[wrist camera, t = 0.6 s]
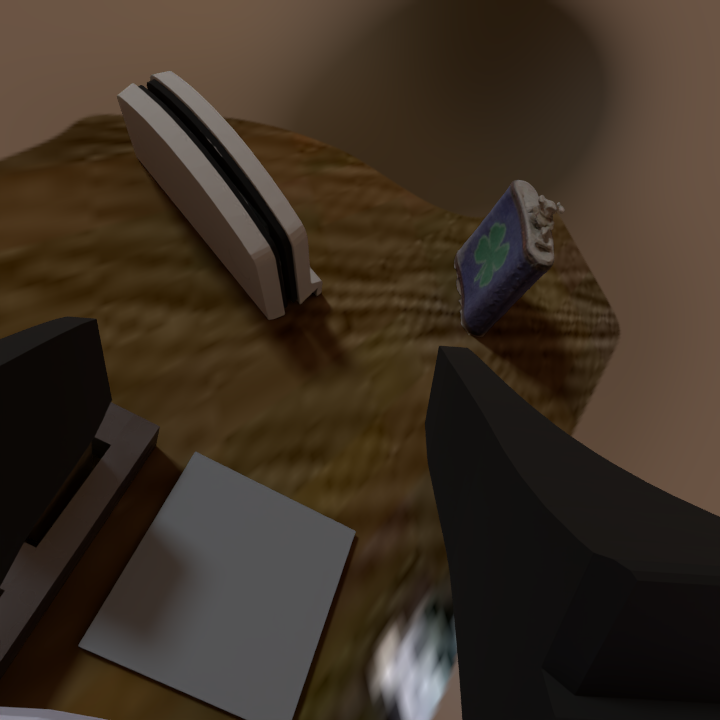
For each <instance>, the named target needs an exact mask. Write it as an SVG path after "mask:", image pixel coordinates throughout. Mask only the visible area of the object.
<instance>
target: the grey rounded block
mask: <svg viewBox="0 0 720 720" xmlns="http://www.w3.org/2000/svg"><path fill="white" fill-rule="evenodd" d="M147 88H148V89H146V88H145V87H144V86H142V85H140V86H136V85H135V84H131V85H130V86H128V87H127V88H126V89H125V90H124V91H122V92H121V93H120V94H119V95H117V99H118V102H119V105H120V108H121V111H122V114H123V117H124V120H125V123H126V126H127V129H128V132H129V135H130V138H131V141H132V144H133V147H134V150H135V154H136V157H137V158H138V159H139V160H140V162H141V163H142V164H143V165H144V167H145V168H146V169H147V170H148V172H149V173H150V174H151V175H152V177H153V178H154V179H155V180H156V181H157V183H158V184H159V185H160V186H161V188H162V189H163V190H164V191H165V193H166V194H167V195H168V196H169V198H170V199H171V200H172V201H173V202H174V204H175V205H176V206H177V207H178V209H179V210H180V211H181V212H182V214H183V215H184V216H185V217H186V219H187V220H188V221H189V222H190V223H191V225H192V226H193V227H194V228H195V230H196V231H197V232H198V233H199V235H200V236H201V237H202V238H203V240H204V241H205V242H206V243H207V244H208V246H209V247H210V248H211V249H212V251H213V252H214V253H215V254H216V256H217V257H218V258H219V259H220V260H221V262H222V263H223V264H224V265H225V267H226V268H227V269H228V270H229V272H230V273H231V274H232V275H233V277H234V278H235V279H236V280H237V281H238V283H239V284H240V285H241V286H242V288H243V289H244V290H245V291H246V293H247V294H248V295H249V296H250V298H251V299H252V300H253V301H254V302H255V304H256V305H257V306H258V307H259V309H260V310H261V311H262V312H263V314H264V315H265V316H266V317H267V319H268V320H271V319H275V318H278V317H280V316H283V315H285V311H284V308H286V307H287V301H286V295H287V296H288V297H289V299H290V300H291V301H292V302H295V301H296V300H297V301H298V302H299V303H300V304H301V303H302V302H303V301H304V300H305V299H306V298H307V297H308V296H309V295H311V294H312V293H313V292H314V294H315V295H316V296H318V295H319V294H320V293H321V289H322V281H321V280H320V279H319V277H318V276H317V275H316V274H315V273H314V271H313V270H312V269H311V268H310V263H309V250H308V237H307V234H306V230H305V228H304V226H303V224H302V222H301V221H300V219H299V218H298V216H297V215H296V213H295V212H294V210H293V209H292V207H291V205H290V204H289V202H288V201H287V199H286V198H285V196H284V195H283V194H282V192H281V191H280V189H279V188H278V186H277V185H276V184H275V182H274V181H273V179H272V178H271V177H270V175H269V174H268V173H267V171H266V170H265V169H264V167H263V166H262V165H261V163H260V162H259V161H258V159H257V158H256V157H255V155H254V154H253V153H252V152H251V150H250V149H249V148H248V146H247V145H246V144H245V143H244V141H243V140H242V139H241V138H240V137H239V135H238V134H237V133H236V132H235V131H234V130H233V128H232V127H231V126H230V125H229V124H228V123H227V122H226V121H225V120H224V118H223V117H222V116H221V115H220V114H219V113H218V112H217V111H216V110H215V109H214V108H213V107H212V106H211V105H210V104H209V103H208V102H207V101H206V100H205V99H204V98H203V97H202V96H201V95H200V94H199V93H198V92H197V91H196V90H195V89H194V88H192V87H191V86H190V85H189V84H188V83H186V82H185V81H184V80H183V79H181V78H180V77H179V76H177V75H176V74H174V73H173V72H171V71H168V72H163V73H158V74H153V75H151V77H150V81H149V82H147ZM285 294H286V295H285Z"/></svg>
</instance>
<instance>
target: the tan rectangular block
mask: <svg viewBox="0 0 720 720" xmlns="http://www.w3.org/2000/svg"><path fill="white" fill-rule="evenodd" d="M92 469H93V463H92V444H91V443H90V445H89V446H88V448H87V449H86V451H85V452H84V454H83V455H82V457H81V458H80V460H79V461H78V463H77V464H76V466H75V467H74V469H73V470H72V472H71V473H70V475H69V476H68V478H67V479H66V480H65V482H64V483H63V485H62V486H61V488H60V489H59V491H58V492H57V494H56V495H55V496H54V498H53V499H52V501H51V502H50V504H49V505H48V507H47V508H46V510H45V511H44V512H43V514H42V515H41V517H40V518H39V520H38V521H37V523H36V524H35V526H34V527H33V529H32V531H31V532H30V534H29V535H28V538H31V539H33V540H35V541H37V542H39V541H40V540H41V538H42V537H43V536H44V534H45V533H46V532H47V530H48V529H49V528H50V526H51V525H52V523H53V522H54V521H55V519H56V518H57V517H58V515H59V514H60V513H61V511H62V510H63V508H64V507H65V506H66V504H67V503H68V502H69V500H70V499H71V497H72V496H73V495H74V493H75V492H76V491H77V489H78V488H79V487H80V485H81V484H82V482H83V481H84V480H85V478H86V477H87V476H88V474H89V473H90V472H91V470H92Z"/></svg>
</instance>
